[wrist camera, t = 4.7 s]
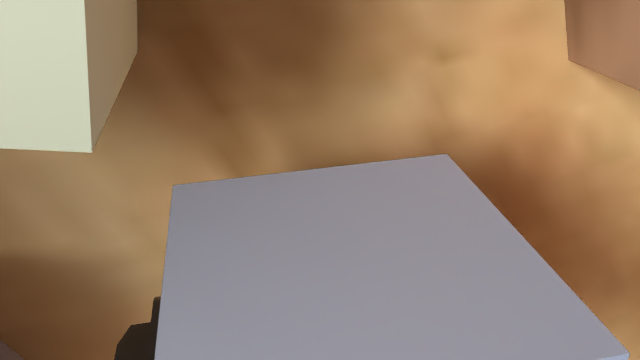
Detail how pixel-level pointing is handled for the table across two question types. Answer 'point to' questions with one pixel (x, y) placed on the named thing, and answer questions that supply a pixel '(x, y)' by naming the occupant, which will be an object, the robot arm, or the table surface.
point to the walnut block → (605, 37)
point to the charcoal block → (8, 353)
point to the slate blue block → (362, 272)
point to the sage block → (62, 70)
